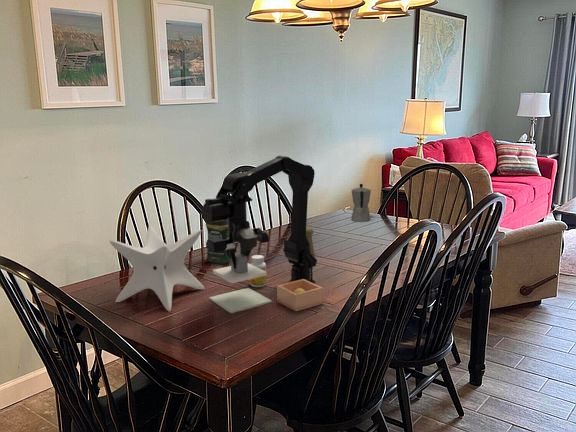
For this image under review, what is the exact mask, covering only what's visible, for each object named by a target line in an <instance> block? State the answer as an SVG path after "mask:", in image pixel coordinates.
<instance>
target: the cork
mask: <svg viewBox="0 0 576 432" xmlns="http://www.w3.org/2000/svg"><path fill="white" fill-rule="evenodd" d="M313 233H314V230H313V228H312V227H310V226H306V237H307V240H308V242H309V244H310V253H311V254H312V255H313V256H315V248H314V241H313V236H312V235H314V234H313Z"/></svg>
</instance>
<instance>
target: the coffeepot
mask: <svg viewBox="0 0 576 432" xmlns="http://www.w3.org/2000/svg"><path fill="white" fill-rule="evenodd" d="M363 186H364V184H363V183H359V187H356V188H352V189H351V196H352V203H353V209H352V214H351V220H352V222H356V223H367V222H370V220H371V215H370V210H369V209H370V208H369V204H370V199H371V198H370V197H371V193H372V190H371V189H369V188H365V187H363Z"/></svg>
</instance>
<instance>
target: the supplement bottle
mask: <svg viewBox="0 0 576 432" xmlns="http://www.w3.org/2000/svg"><path fill="white" fill-rule="evenodd" d="M264 259H265V256H264V255H261V254H254V255H252V256H251V263H250V264H251V265H253V266H255V267H257V268H259V269H261V270H263V271H265V272H267V264H266V262H264ZM249 282H250V283H249V284H250V286H251V287H254V288H263V287H265V286H267V275H266V276H262V277H258V278H253V279H249Z"/></svg>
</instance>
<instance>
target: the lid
mask: <svg viewBox="0 0 576 432" xmlns="http://www.w3.org/2000/svg"><path fill="white" fill-rule="evenodd" d="M235 260H236V269H233V267H232V265H231V264H230V265H229V266H225V267H221V268H219V267H218V268H216V269H212V274H214V275H215V276H217V277H220V278H221V279H223V280H225V281H227V282H228V283H230V284H231V285H232V284H235V283H240V282H244V281H250V279H253V278H258V277H262V276H266V277H267V276H268V275H267V274H268V272H267V271H266V272H265V271H263V270H261V269H259V268H257V267H255V266H253V265H251V263H249V262H248V260H247V256H246V255H244V254H241V252H235Z"/></svg>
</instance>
